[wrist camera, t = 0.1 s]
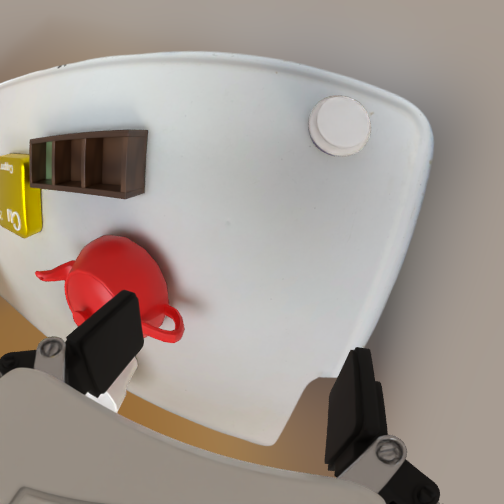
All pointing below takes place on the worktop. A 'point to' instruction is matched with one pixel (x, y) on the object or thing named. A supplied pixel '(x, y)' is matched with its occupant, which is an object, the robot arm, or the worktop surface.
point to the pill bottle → (339, 126)
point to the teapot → (117, 284)
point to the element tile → (19, 197)
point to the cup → (116, 389)
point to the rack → (90, 163)
